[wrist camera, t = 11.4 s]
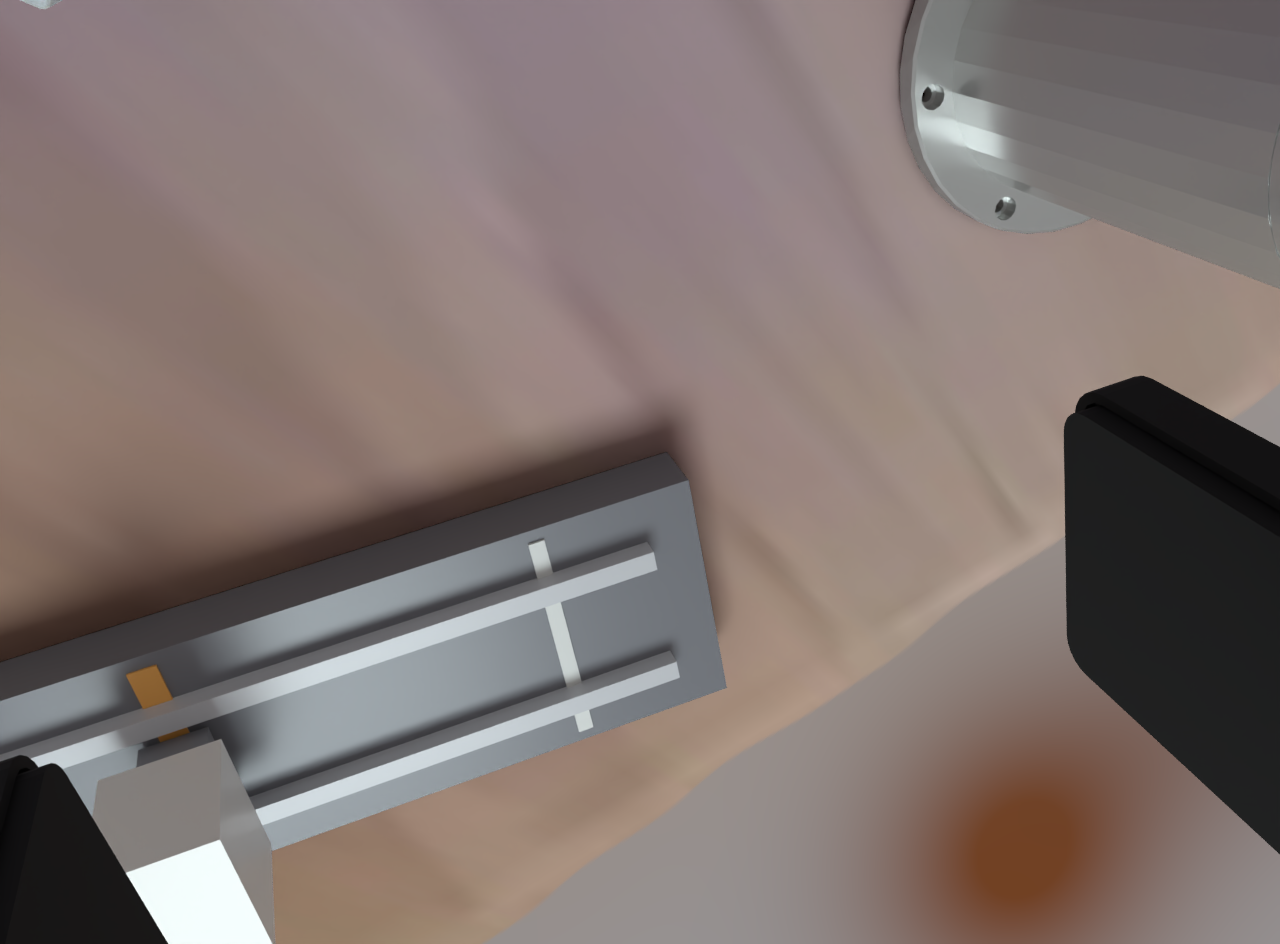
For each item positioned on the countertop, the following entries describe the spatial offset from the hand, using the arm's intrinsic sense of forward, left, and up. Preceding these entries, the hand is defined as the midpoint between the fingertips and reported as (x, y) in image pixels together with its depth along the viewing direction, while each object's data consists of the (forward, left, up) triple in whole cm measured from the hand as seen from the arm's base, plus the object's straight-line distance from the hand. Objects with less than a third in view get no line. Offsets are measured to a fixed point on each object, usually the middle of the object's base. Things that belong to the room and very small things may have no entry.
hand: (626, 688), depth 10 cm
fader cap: (+12, +20, -27) cm, 36 cm away
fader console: (+6, +20, -30) cm, 36 cm away
